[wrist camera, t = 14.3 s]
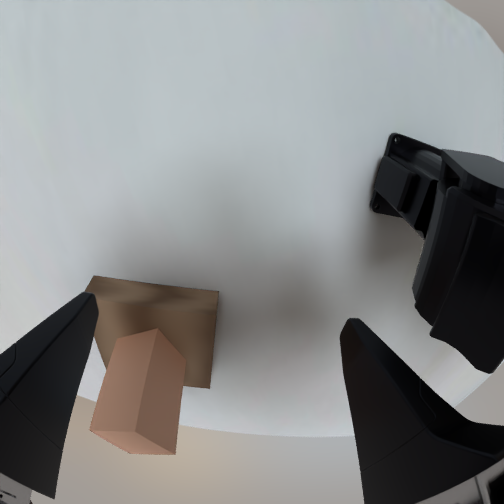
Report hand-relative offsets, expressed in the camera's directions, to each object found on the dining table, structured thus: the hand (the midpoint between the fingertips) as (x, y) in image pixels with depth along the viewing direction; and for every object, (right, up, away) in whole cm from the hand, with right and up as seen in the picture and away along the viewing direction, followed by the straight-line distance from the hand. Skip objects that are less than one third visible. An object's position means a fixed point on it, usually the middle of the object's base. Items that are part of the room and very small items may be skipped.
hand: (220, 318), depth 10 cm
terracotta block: (-9, -7, +16) cm, 20 cm away
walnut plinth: (-9, -6, +19) cm, 21 cm away
